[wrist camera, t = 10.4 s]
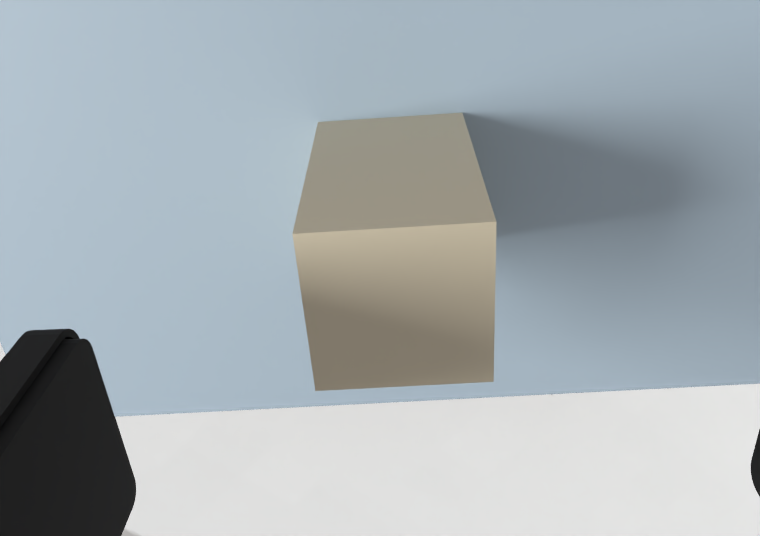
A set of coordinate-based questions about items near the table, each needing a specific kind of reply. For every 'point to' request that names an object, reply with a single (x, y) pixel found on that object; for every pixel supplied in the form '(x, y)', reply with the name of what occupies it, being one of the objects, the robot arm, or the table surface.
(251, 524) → the table surface
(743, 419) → the table surface
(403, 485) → the table surface
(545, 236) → the door
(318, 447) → the table surface
